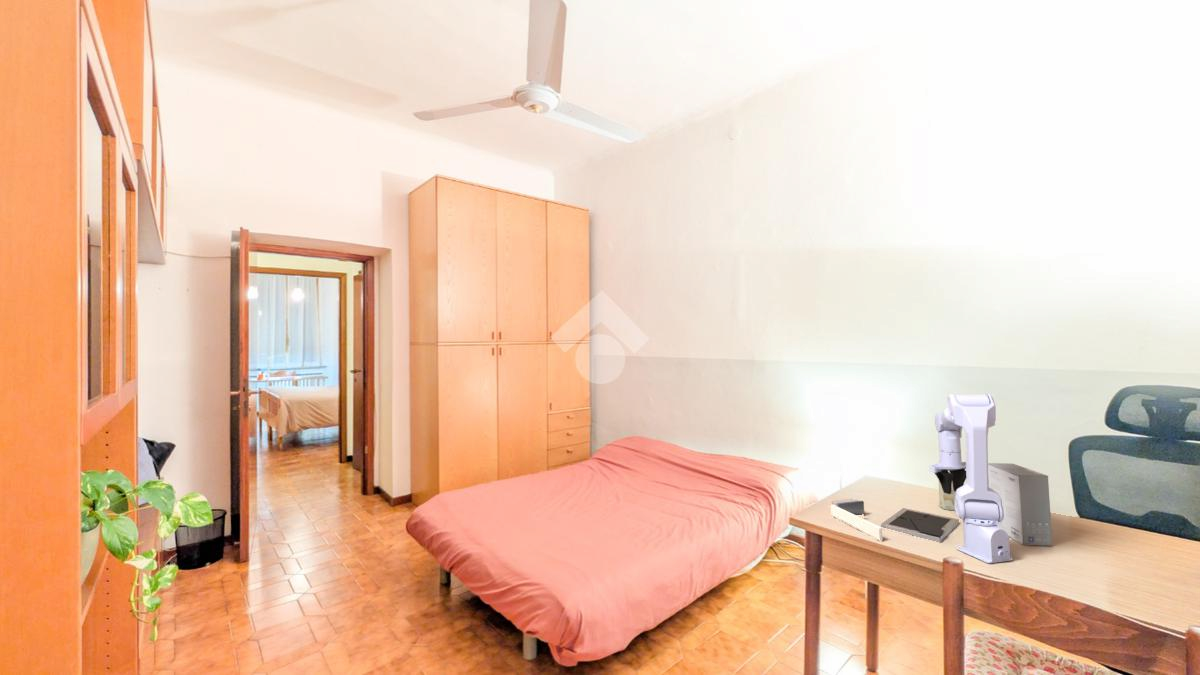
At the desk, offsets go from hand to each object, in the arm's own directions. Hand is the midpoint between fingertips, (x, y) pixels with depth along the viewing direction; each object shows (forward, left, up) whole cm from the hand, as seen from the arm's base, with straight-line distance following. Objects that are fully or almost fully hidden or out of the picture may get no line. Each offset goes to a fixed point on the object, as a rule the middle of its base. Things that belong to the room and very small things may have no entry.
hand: (952, 492), depth 153 cm
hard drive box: (-14, -8, -10) cm, 19 cm away
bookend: (+11, +28, -9) cm, 32 cm away
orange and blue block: (+15, +28, -9) cm, 33 cm away
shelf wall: (+4, +33, -9) cm, 35 cm away
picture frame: (0, +13, -10) cm, 17 cm away
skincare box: (+10, -10, -10) cm, 17 cm away
